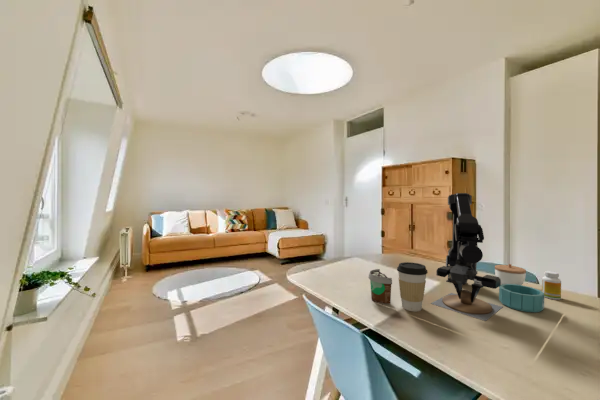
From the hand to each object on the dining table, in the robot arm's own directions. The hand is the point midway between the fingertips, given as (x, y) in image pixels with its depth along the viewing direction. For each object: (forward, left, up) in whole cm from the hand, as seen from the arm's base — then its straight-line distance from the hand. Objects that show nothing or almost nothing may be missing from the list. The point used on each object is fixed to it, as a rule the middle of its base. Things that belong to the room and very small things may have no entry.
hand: (466, 300), depth 95 cm
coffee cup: (-11, -17, -2) cm, 20 cm away
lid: (0, 0, -2) cm, 2 cm away
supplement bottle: (+17, +35, -2) cm, 39 cm away
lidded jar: (+3, +39, -2) cm, 39 cm away
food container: (-23, -20, -2) cm, 31 cm away
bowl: (+12, +15, -2) cm, 19 cm away
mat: (0, 0, -2) cm, 2 cm away
